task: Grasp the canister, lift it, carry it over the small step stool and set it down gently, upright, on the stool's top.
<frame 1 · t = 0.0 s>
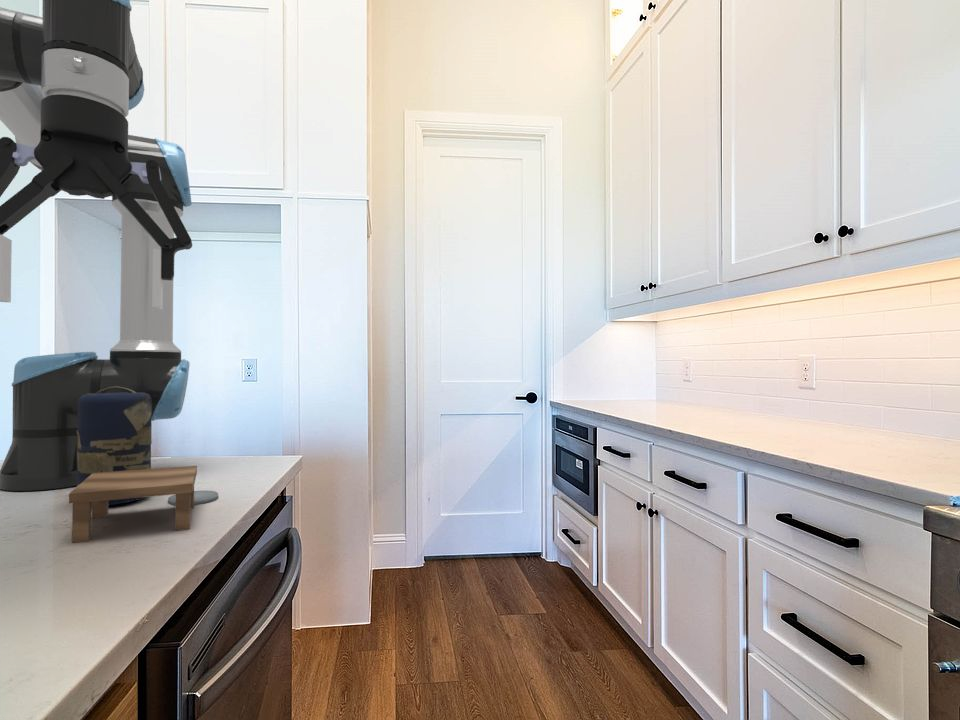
hand: (83, 305, 56), 28 cm above the countertop, fingers open, 13 cm apart
canister: (114, 502, 81), on the countertop
step stool: (140, 521, 71), on the countertop
slate coaster: (193, 499, 83), on the countertop
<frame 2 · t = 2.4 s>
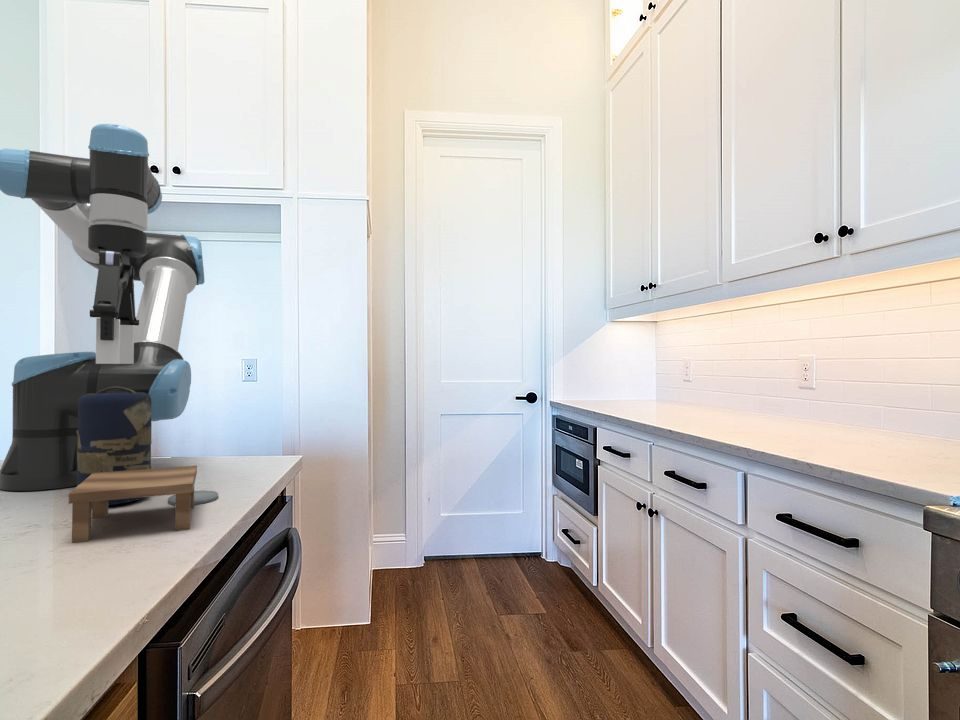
hand: (116, 364, 81), 21 cm above the countertop, fingers open, 13 cm apart
nothing on the countertop moved.
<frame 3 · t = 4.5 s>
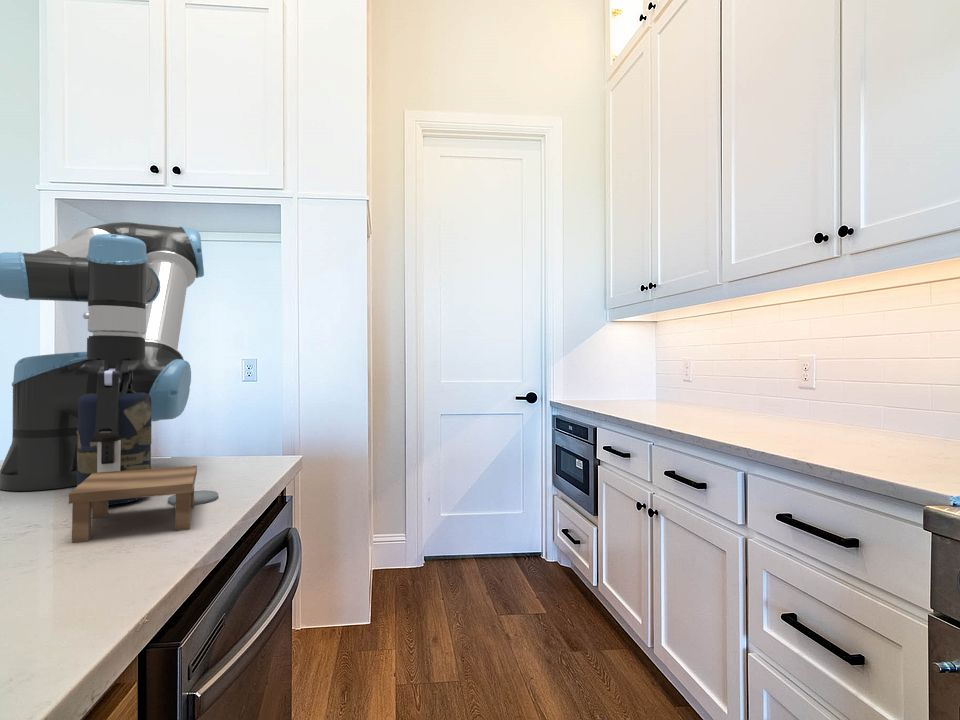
hand: (114, 478, 81), 4 cm above the countertop, fingers closed on canister, 9 cm apart
canister: (114, 502, 81), on the countertop, touching gripper
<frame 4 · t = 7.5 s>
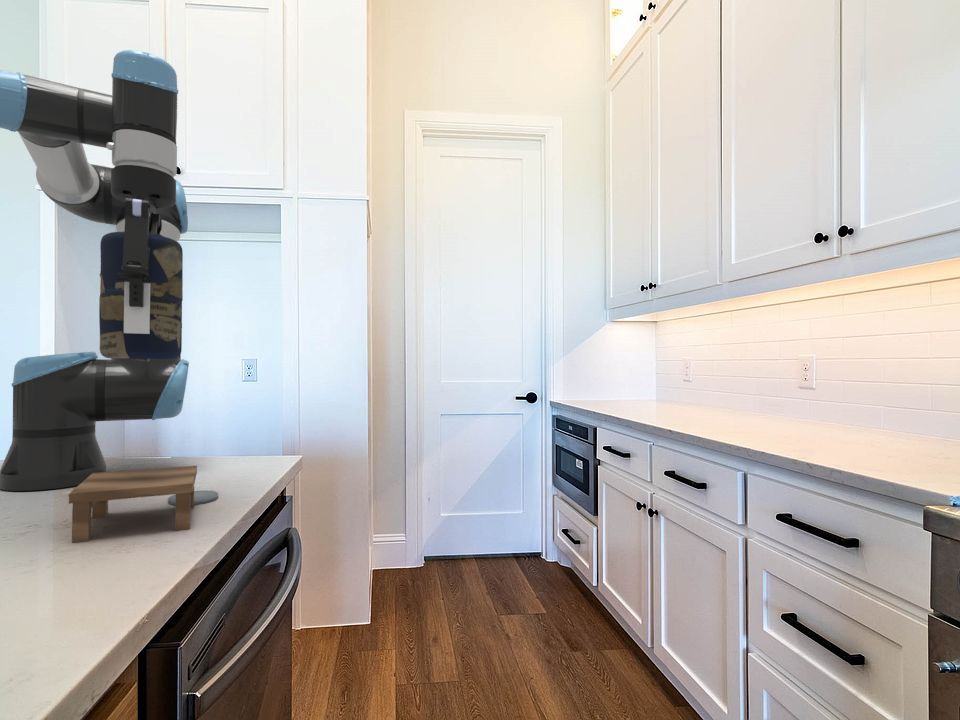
hand: (142, 335, 71), 26 cm above the countertop, fingers closed on canister, 9 cm apart
canister: (141, 362, 71), point 22 cm above the countertop, touching gripper
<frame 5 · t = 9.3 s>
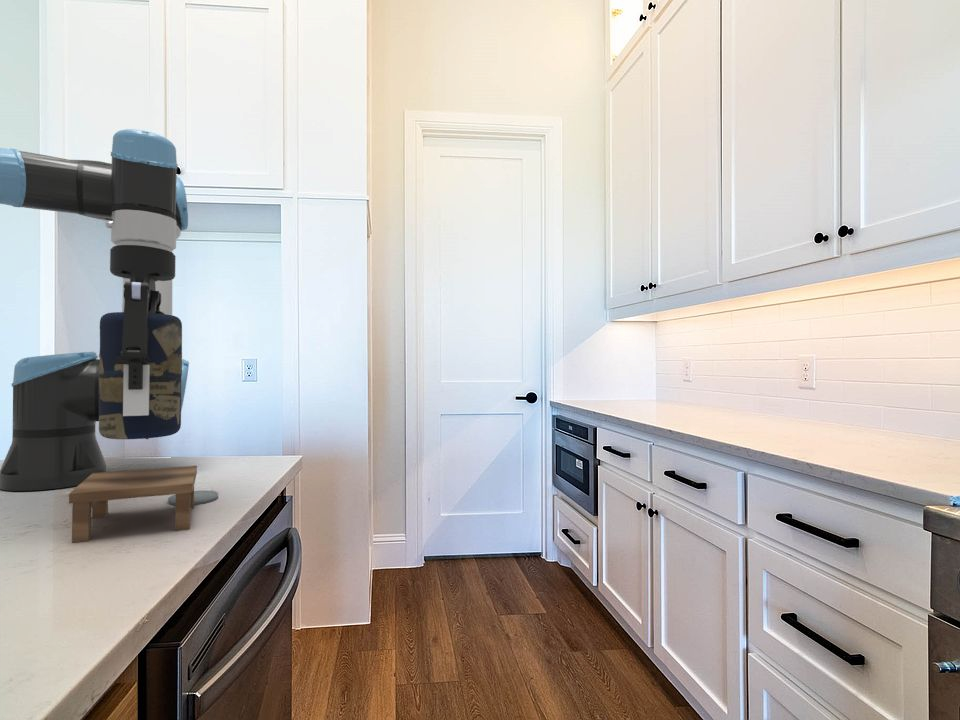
hand: (141, 412, 71), 15 cm above the countertop, fingers closed on canister, 9 cm apart
canister: (140, 439, 71), point 11 cm above the countertop, touching gripper
when the fingers open (11 cm above the countertop, at t = 10.7 s): canister drops 1 cm, resting on step stool.
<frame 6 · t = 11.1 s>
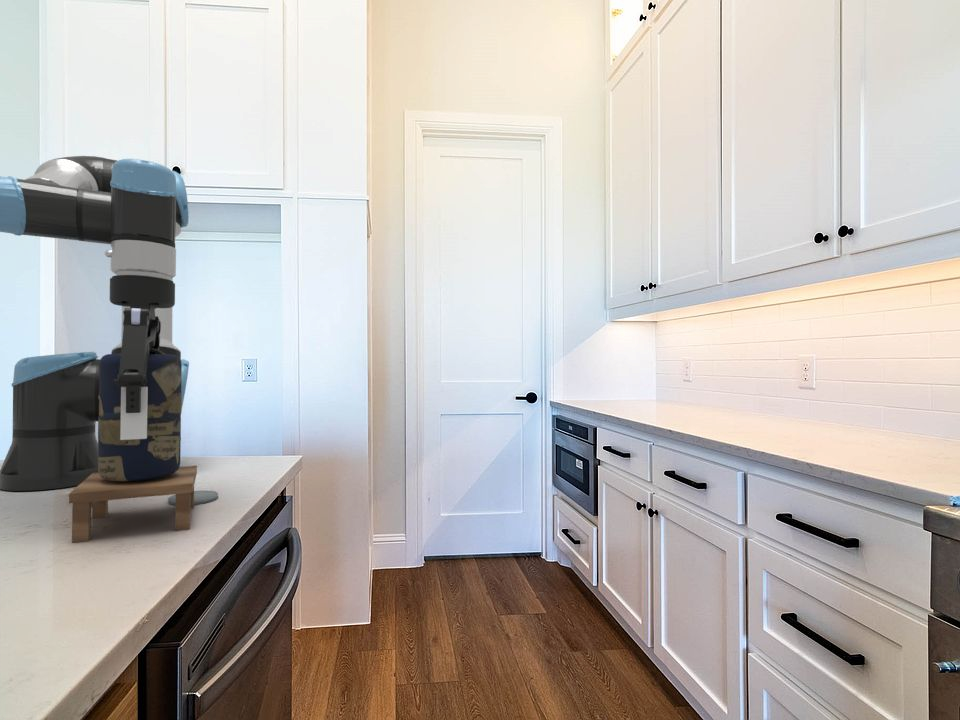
hand: (141, 432, 71), 12 cm above the countertop, fingers open, 13 cm apart
canister: (140, 479, 71), point 6 cm above the countertop, touching step stool
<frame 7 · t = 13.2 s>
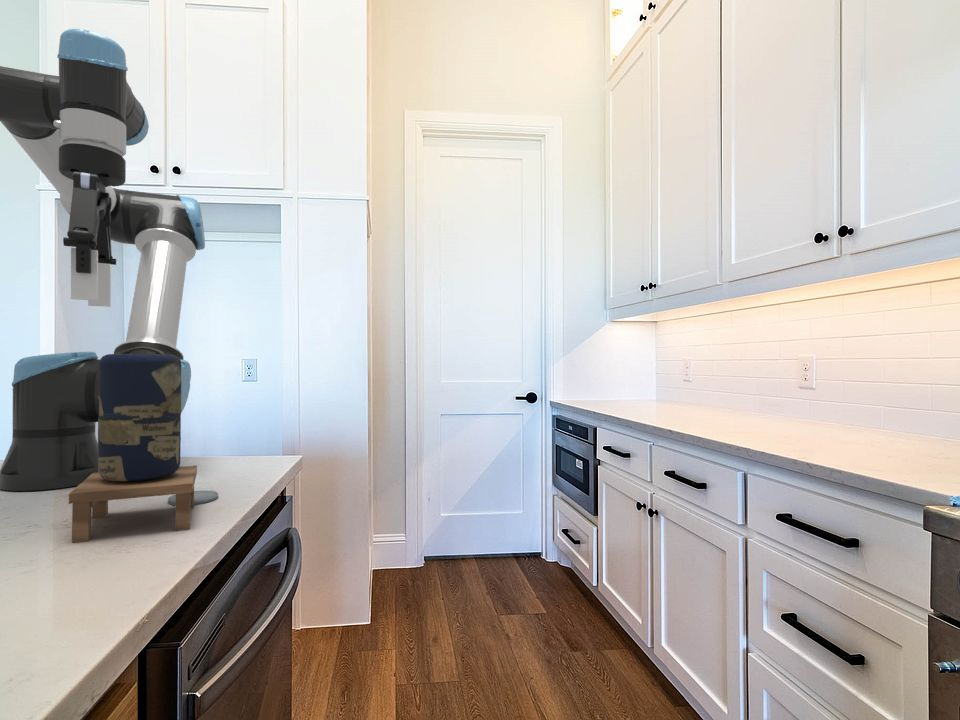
hand: (92, 303, 73), 30 cm above the countertop, fingers open, 13 cm apart
nothing on the countertop moved.
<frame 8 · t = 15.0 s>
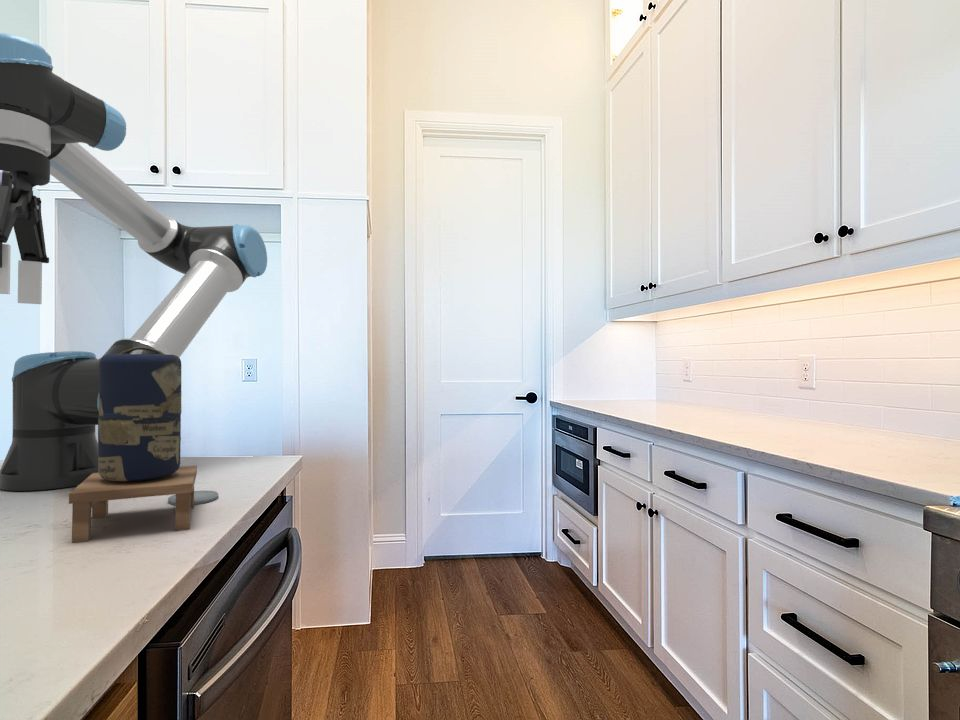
hand: (13, 299, 74), 31 cm above the countertop, fingers open, 13 cm apart
nothing on the countertop moved.
at the end: canister inside the target area on the step stool (0.2 cm from its centre), point 5.8 cm above the step stool's base; canister tilted 0°; canister touching step stool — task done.
